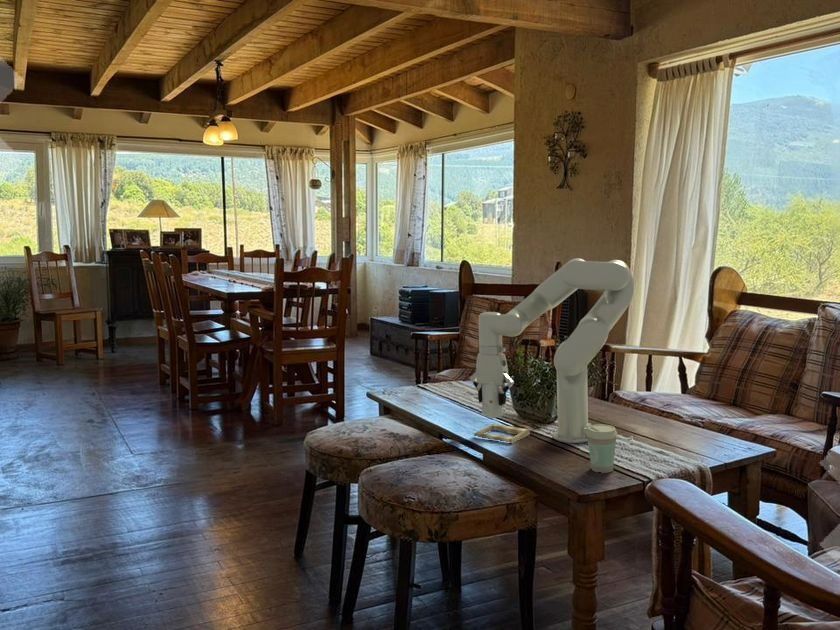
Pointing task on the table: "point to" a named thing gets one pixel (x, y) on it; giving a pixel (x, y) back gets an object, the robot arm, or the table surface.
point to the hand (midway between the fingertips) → (492, 402)
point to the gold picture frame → (513, 430)
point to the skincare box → (491, 400)
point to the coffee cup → (601, 447)
